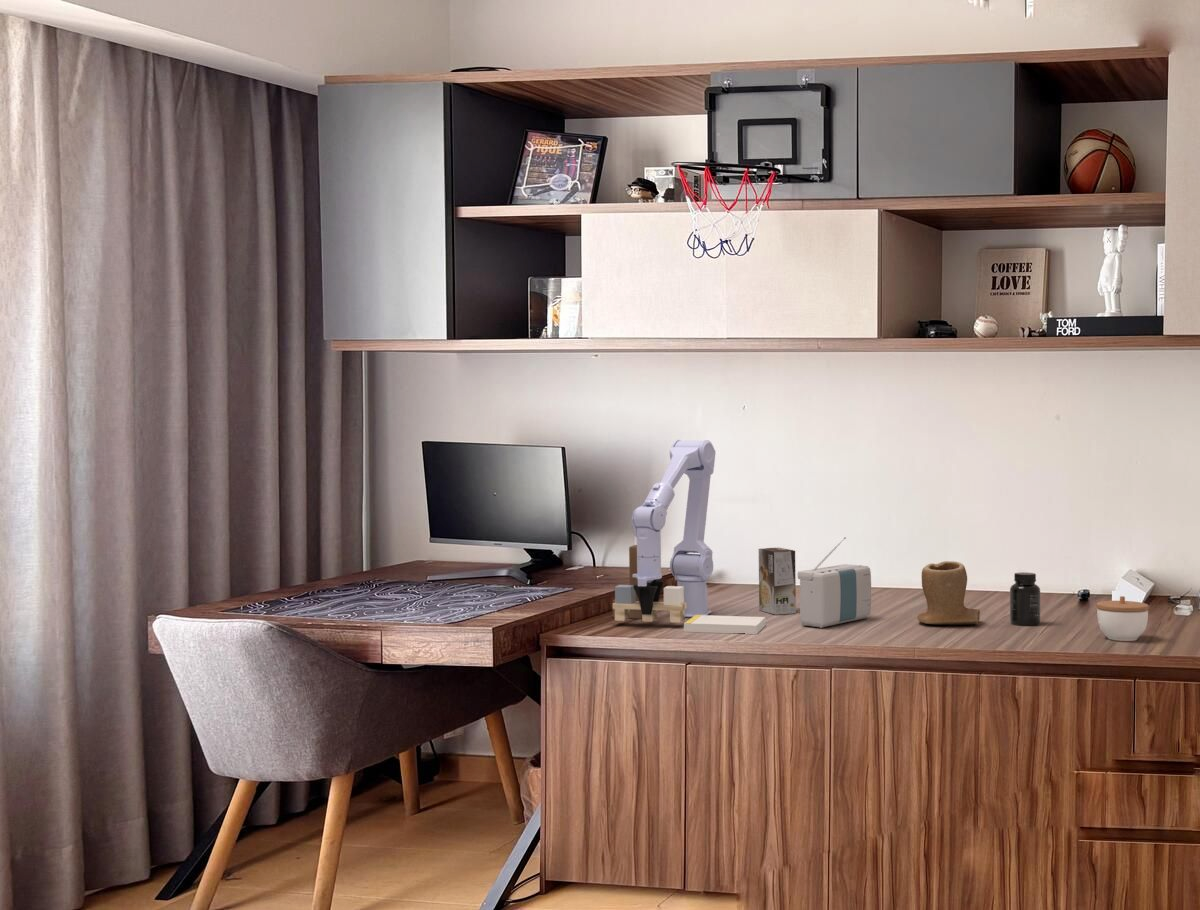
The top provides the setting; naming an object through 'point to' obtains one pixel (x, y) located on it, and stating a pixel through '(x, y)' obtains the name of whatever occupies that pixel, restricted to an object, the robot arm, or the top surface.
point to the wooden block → (632, 580)
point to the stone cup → (946, 595)
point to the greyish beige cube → (674, 595)
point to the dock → (724, 624)
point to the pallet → (675, 613)
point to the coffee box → (777, 581)
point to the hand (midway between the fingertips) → (649, 612)
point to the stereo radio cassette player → (834, 594)
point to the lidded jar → (1122, 619)
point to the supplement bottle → (1025, 600)
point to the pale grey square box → (624, 594)
